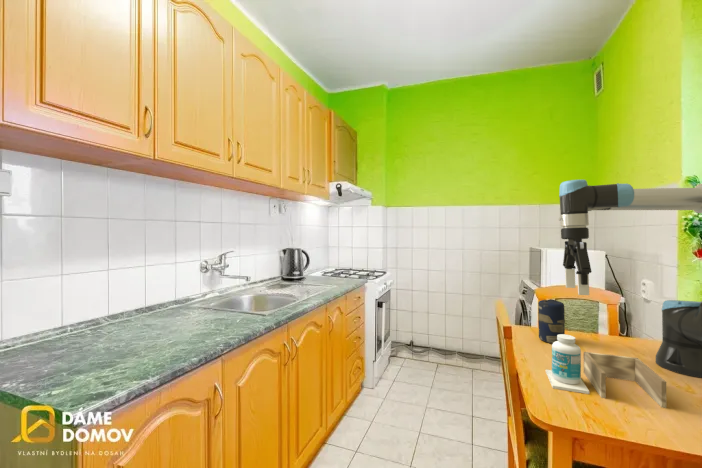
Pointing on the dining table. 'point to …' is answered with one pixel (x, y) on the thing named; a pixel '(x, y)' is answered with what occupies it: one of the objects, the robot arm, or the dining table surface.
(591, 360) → the beige three-walled frame
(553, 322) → the canister
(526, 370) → the dining table surface
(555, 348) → the pill bottle
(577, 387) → the tile
